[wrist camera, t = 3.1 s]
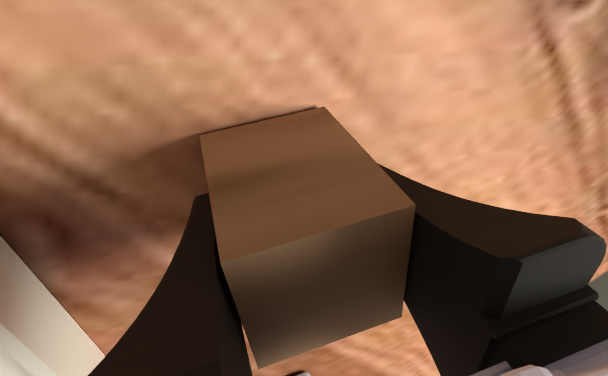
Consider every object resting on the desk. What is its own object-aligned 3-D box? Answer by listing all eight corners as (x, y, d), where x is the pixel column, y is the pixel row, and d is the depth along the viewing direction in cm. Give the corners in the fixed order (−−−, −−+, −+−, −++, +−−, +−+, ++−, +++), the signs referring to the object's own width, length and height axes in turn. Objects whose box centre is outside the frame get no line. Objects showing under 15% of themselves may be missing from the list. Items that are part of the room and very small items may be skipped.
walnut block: (330, 202, 15) (401, 317, 11) (229, 230, 15) (258, 369, 10) (324, 106, 13) (415, 204, 8) (199, 135, 12) (220, 263, 7)
